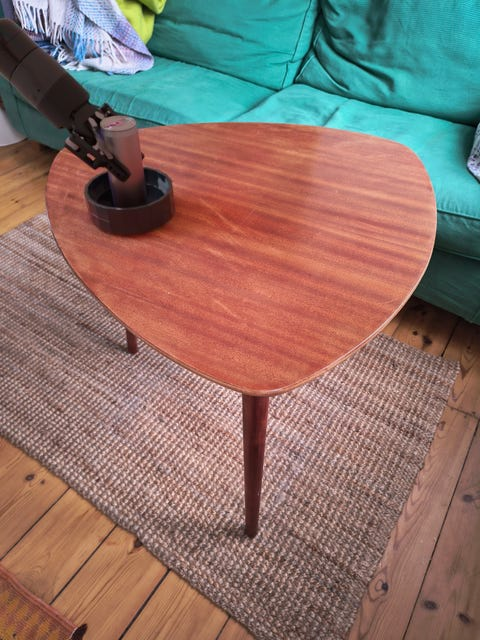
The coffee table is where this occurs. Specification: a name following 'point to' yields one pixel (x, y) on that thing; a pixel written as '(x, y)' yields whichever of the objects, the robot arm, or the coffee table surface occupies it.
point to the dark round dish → (135, 217)
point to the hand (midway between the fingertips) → (134, 169)
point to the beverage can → (125, 160)
